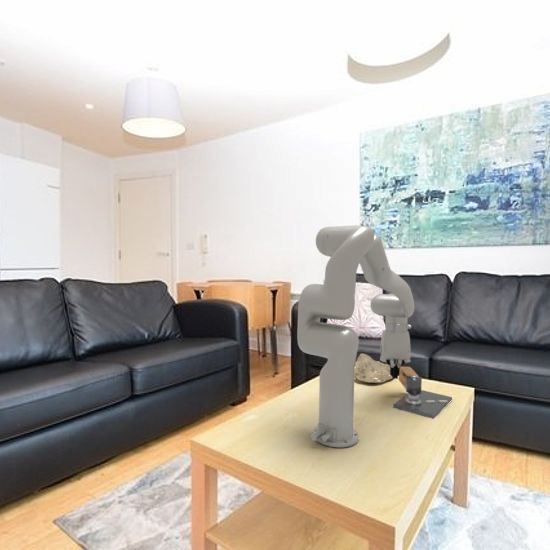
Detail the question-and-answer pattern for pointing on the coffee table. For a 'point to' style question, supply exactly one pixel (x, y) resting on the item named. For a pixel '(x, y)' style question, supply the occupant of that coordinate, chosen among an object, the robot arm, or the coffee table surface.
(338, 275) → the robot arm
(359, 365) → the stone
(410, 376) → the orange boxy piece
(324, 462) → the coffee table surface
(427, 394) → the post base
